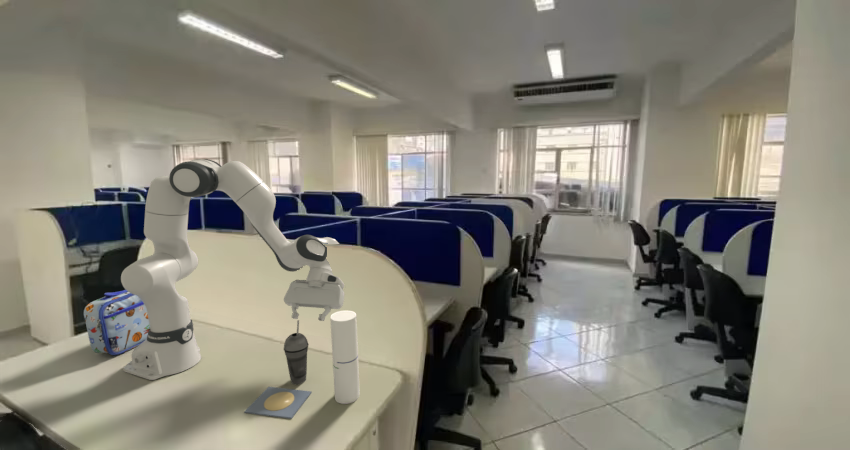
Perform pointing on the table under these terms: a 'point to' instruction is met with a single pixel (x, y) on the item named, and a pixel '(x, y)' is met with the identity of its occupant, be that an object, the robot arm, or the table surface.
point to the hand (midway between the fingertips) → (307, 319)
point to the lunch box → (116, 322)
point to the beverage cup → (296, 356)
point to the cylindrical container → (345, 356)
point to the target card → (278, 402)
